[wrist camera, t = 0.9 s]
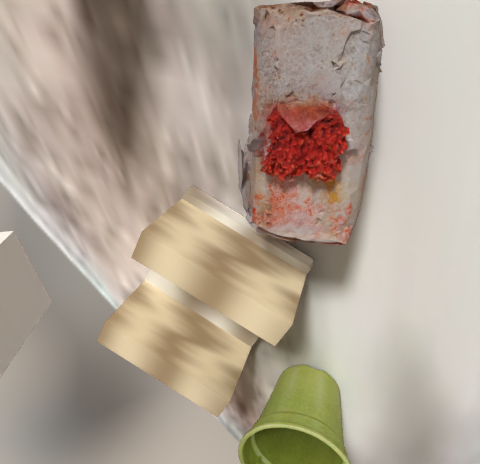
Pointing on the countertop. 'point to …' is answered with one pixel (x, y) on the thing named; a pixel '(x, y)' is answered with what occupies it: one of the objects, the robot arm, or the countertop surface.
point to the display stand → (205, 299)
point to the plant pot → (298, 422)
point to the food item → (310, 118)
